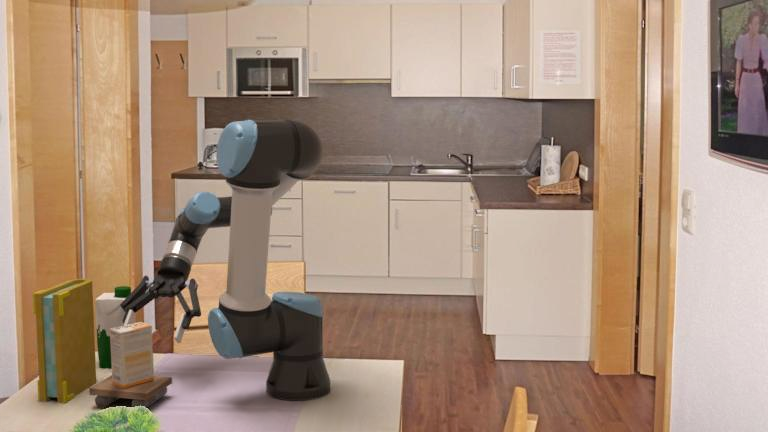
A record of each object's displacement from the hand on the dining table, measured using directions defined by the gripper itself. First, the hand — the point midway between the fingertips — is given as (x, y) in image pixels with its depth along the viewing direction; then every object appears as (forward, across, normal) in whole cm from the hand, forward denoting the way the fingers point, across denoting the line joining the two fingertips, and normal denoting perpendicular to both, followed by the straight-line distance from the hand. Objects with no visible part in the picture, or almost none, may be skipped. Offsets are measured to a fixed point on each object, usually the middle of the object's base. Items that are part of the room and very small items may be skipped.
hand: (150, 338), depth 218 cm
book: (+13, +18, -4) cm, 22 cm away
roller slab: (+16, 0, -2) cm, 16 cm away
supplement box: (+12, 0, +2) cm, 13 cm away
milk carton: (-2, +18, -20) cm, 26 cm away
